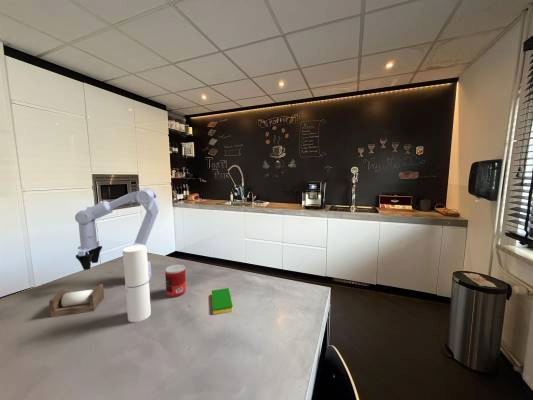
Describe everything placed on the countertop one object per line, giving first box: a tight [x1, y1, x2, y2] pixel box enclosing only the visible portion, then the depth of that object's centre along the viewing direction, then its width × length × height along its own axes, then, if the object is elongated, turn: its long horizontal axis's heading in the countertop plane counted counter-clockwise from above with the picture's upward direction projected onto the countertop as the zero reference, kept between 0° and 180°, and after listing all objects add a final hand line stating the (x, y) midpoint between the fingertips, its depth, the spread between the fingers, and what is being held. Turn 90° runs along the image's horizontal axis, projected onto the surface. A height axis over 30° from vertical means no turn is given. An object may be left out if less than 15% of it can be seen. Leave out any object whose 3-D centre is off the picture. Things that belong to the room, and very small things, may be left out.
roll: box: [61, 289, 94, 307], centre depth 84 cm, size 8×5×5 cm, turn 107°
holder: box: [48, 283, 105, 318], centre depth 84 cm, size 13×9×6 cm
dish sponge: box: [211, 287, 234, 315], centre depth 87 cm, size 7×14×2 cm, turn 16°
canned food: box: [164, 264, 187, 298], centre depth 94 cm, size 8×8×11 cm
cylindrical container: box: [122, 245, 152, 323], centre depth 78 cm, size 7×7×25 cm
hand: (91, 265), depth 99 cm, fingers open, 7 cm apart
